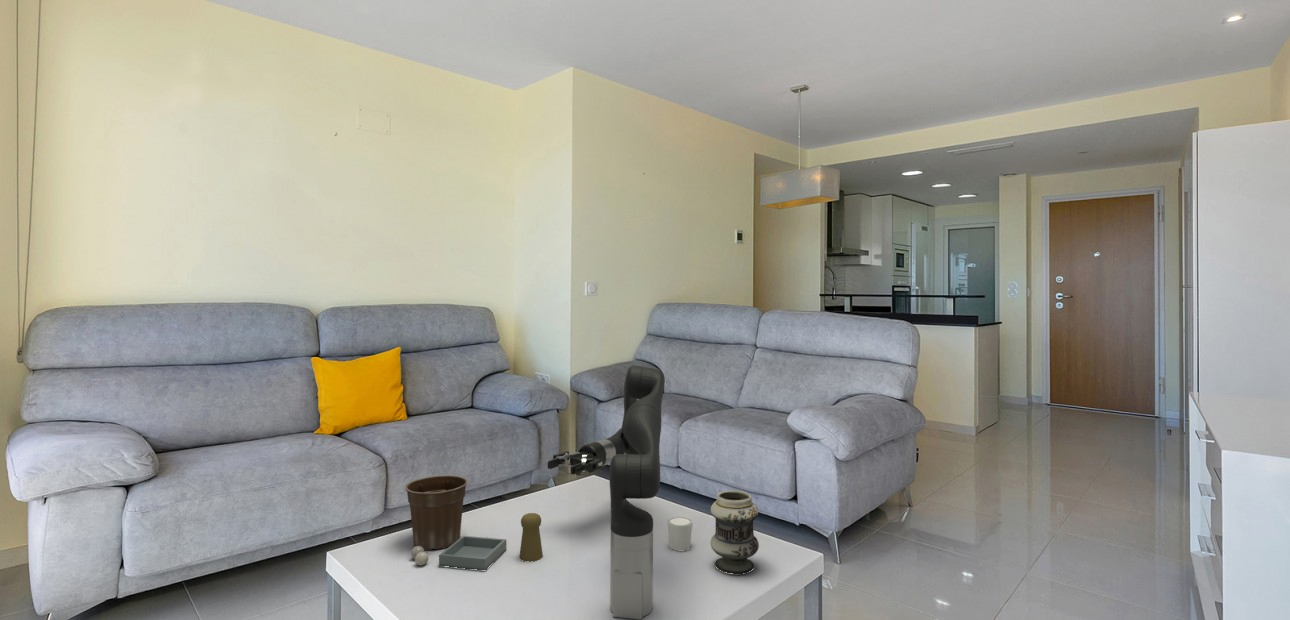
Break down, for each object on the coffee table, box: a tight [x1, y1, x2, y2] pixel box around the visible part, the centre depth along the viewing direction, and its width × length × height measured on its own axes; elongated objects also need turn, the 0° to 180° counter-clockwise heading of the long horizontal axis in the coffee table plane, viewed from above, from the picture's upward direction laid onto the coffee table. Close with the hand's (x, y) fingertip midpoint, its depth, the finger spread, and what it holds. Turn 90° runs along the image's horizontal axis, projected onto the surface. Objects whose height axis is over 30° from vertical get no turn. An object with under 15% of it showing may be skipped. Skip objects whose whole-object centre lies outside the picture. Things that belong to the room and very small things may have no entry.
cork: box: [519, 512, 544, 563], centre depth 155 cm, size 6×6×11 cm
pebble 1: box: [410, 546, 425, 560], centre depth 153 cm, size 3×3×3 cm
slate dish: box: [438, 535, 507, 571], centre depth 153 cm, size 12×12×3 cm
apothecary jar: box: [709, 490, 760, 575], centre depth 150 cm, size 12×12×18 cm
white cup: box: [667, 516, 693, 552], centre depth 161 cm, size 7×7×7 cm
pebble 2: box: [414, 551, 430, 566], centre depth 150 cm, size 3×3×3 cm
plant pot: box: [404, 475, 468, 551], centre depth 164 cm, size 16×16×16 cm
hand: (559, 468), depth 163 cm, fingers open, 8 cm apart
